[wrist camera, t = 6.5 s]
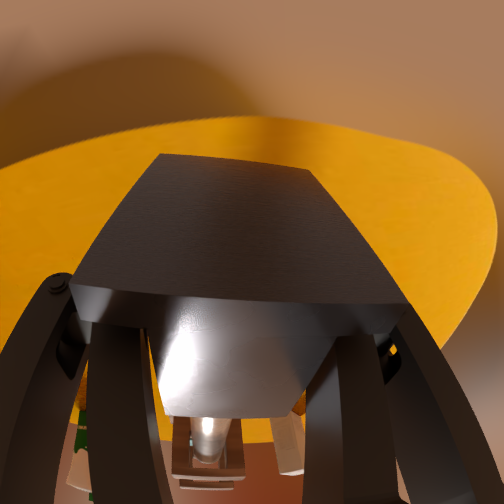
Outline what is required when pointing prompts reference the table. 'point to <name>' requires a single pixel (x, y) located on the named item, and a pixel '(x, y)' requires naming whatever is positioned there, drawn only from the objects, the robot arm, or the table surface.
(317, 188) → the shaft
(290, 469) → the skincare box
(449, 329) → the table surface
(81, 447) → the milk carton
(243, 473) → the bearing stand
